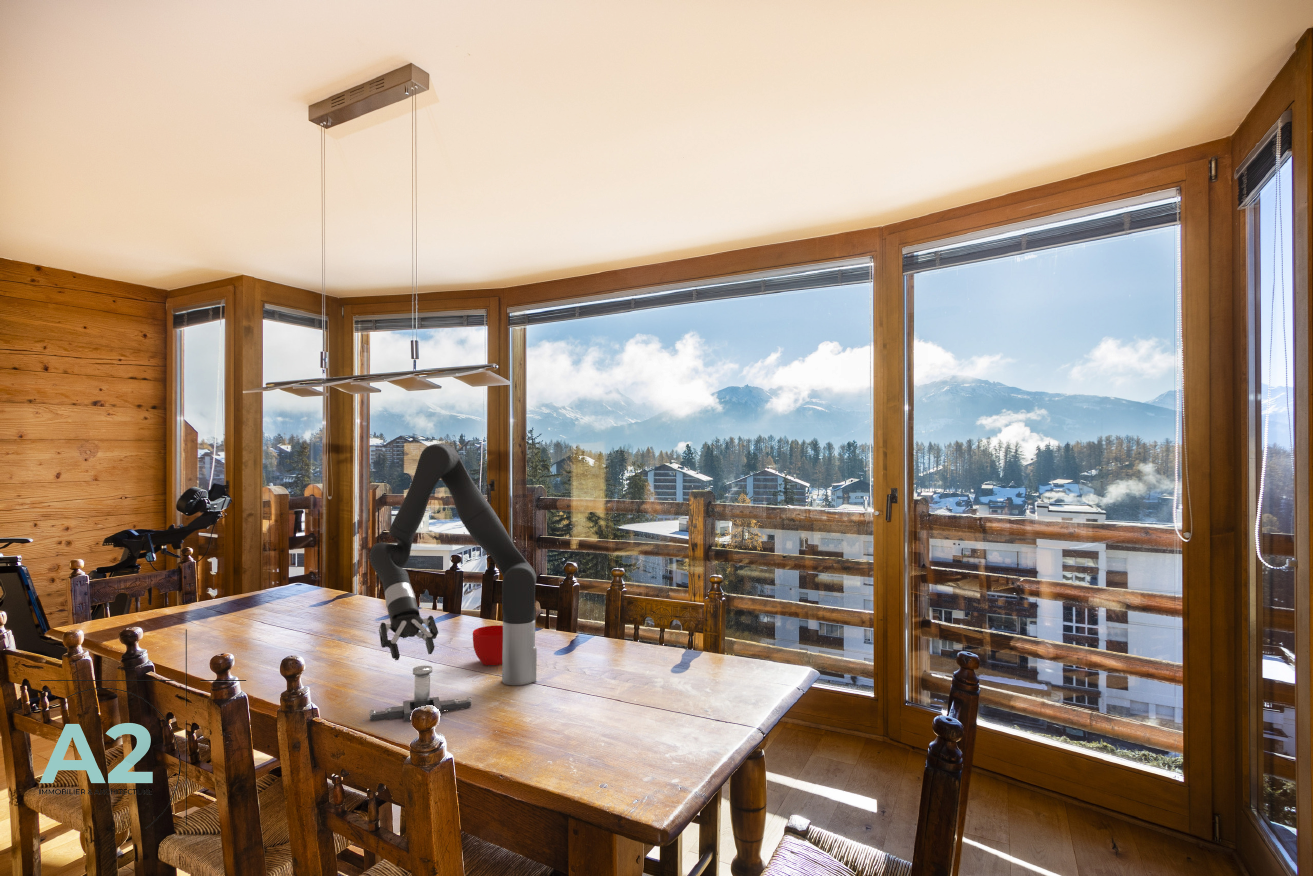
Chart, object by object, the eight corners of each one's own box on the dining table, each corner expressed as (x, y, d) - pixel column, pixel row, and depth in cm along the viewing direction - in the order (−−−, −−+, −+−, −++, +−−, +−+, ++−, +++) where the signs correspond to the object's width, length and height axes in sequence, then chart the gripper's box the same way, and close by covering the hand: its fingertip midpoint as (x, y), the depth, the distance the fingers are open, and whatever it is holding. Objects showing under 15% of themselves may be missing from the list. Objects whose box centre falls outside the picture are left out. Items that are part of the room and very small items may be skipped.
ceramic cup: (498, 674, 191) (499, 640, 192) (463, 663, 202) (464, 631, 202) (531, 664, 202) (532, 631, 202) (496, 654, 212) (497, 623, 212)
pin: (430, 708, 165) (431, 664, 165) (432, 714, 161) (432, 670, 161) (411, 710, 163) (412, 666, 164) (412, 717, 159) (413, 672, 159)
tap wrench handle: (469, 700, 170) (469, 692, 171) (473, 712, 163) (473, 703, 163) (369, 713, 161) (370, 705, 161) (369, 726, 153) (369, 717, 153)
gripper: (377, 598, 170) (389, 652, 161) (430, 592, 179) (445, 642, 170) (371, 615, 174) (382, 668, 165) (424, 607, 183) (438, 658, 174)
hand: (414, 655), depth 168 cm, fingers open, 8 cm apart
